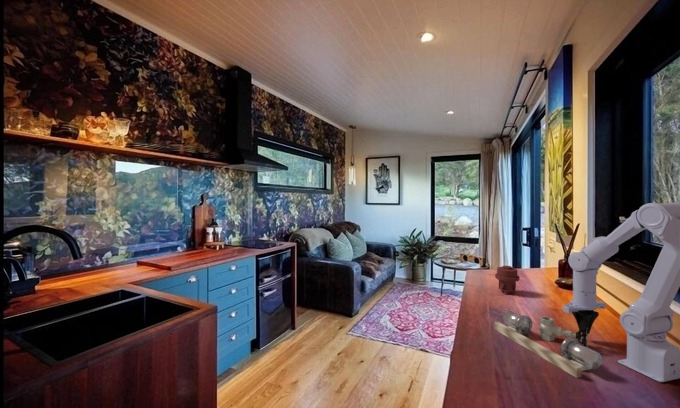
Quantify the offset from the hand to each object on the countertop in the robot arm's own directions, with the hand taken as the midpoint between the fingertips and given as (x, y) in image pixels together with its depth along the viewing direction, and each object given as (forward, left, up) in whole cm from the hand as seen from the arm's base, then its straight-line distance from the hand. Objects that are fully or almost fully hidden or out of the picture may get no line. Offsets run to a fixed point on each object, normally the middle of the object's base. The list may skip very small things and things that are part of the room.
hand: (584, 332), depth 96 cm
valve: (+1, +7, -3) cm, 8 cm away
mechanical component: (+45, -12, -3) cm, 47 cm away
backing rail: (0, +20, -2) cm, 20 cm away
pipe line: (0, +15, -2) cm, 15 cm away
